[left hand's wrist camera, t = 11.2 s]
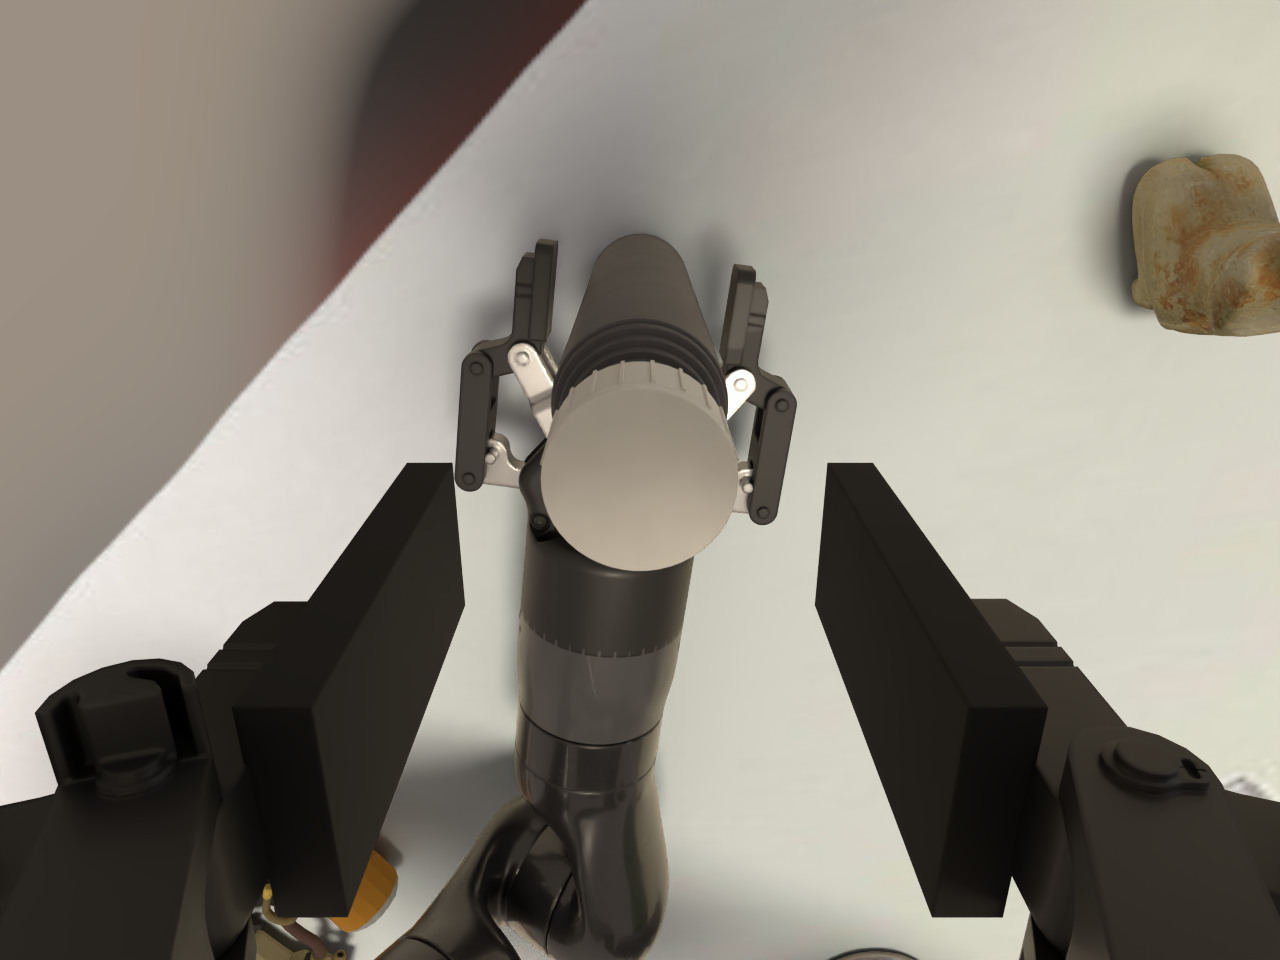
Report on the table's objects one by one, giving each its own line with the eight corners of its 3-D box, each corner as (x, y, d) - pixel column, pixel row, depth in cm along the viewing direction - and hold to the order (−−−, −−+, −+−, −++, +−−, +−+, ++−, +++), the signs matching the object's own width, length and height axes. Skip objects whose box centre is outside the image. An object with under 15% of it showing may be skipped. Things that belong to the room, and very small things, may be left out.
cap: (587, 550, 20) (581, 596, 18) (521, 393, 18) (507, 424, 16) (752, 498, 19) (765, 539, 17) (698, 332, 18) (705, 357, 16)
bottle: (611, 344, 41) (575, 601, 18) (578, 253, 39) (492, 411, 17) (700, 313, 40) (778, 538, 18) (670, 219, 39) (712, 335, 16)
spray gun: (333, 990, 58) (129, 894, 56) (446, 848, 52) (222, 732, 49) (307, 1053, 54) (86, 953, 52) (426, 907, 48) (182, 785, 46)
